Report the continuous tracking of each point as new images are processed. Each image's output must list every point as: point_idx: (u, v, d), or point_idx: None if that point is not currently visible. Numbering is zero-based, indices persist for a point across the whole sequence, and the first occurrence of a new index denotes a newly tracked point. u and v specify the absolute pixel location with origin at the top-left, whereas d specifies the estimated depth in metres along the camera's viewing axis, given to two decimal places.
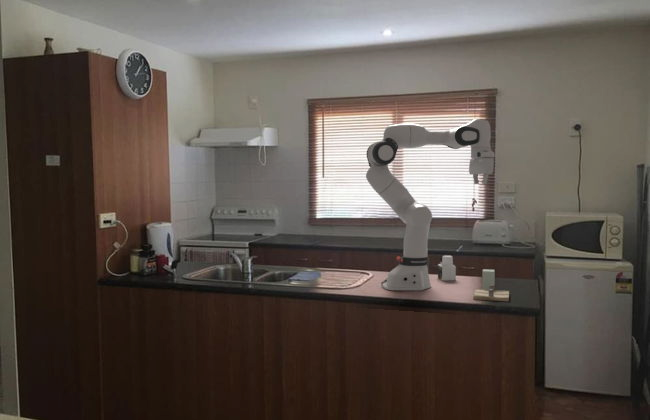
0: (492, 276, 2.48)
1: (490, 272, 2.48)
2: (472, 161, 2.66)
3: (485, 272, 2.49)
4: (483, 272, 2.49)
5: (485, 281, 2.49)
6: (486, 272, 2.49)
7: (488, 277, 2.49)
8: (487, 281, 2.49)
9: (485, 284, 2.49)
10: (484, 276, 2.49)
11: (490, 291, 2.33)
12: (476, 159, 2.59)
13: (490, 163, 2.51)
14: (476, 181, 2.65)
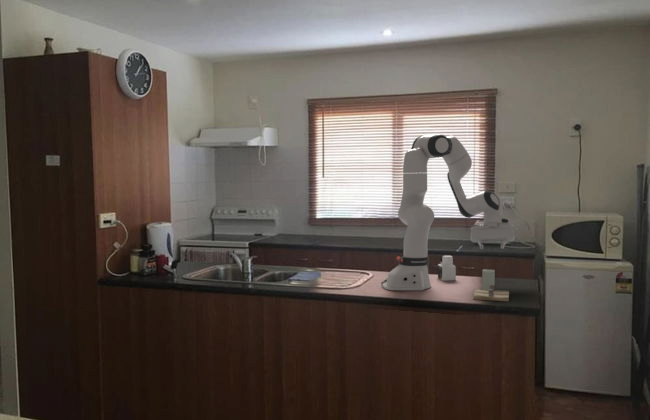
0: (492, 276, 2.48)
1: (490, 272, 2.48)
2: (480, 227, 2.69)
3: (485, 272, 2.49)
4: (483, 272, 2.49)
5: (485, 281, 2.49)
6: (486, 272, 2.49)
7: (488, 277, 2.49)
8: (487, 281, 2.49)
9: (485, 284, 2.49)
10: (484, 276, 2.49)
11: (490, 291, 2.33)
12: (495, 225, 2.66)
13: None
14: None
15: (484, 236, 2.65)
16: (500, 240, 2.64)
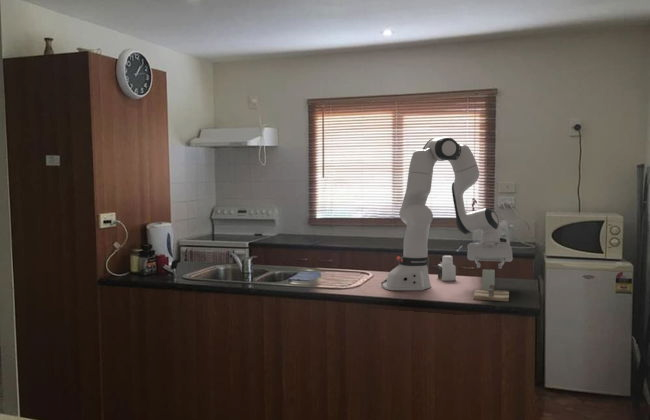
0: (492, 276, 2.48)
1: (490, 272, 2.48)
2: (477, 246, 2.63)
3: (485, 272, 2.49)
4: (483, 272, 2.49)
5: (485, 281, 2.49)
6: (486, 272, 2.49)
7: (488, 277, 2.49)
8: (487, 281, 2.49)
9: (485, 284, 2.49)
10: (484, 276, 2.49)
11: (490, 291, 2.33)
12: (493, 244, 2.61)
13: None
14: None
15: (482, 255, 2.59)
16: (497, 260, 2.59)
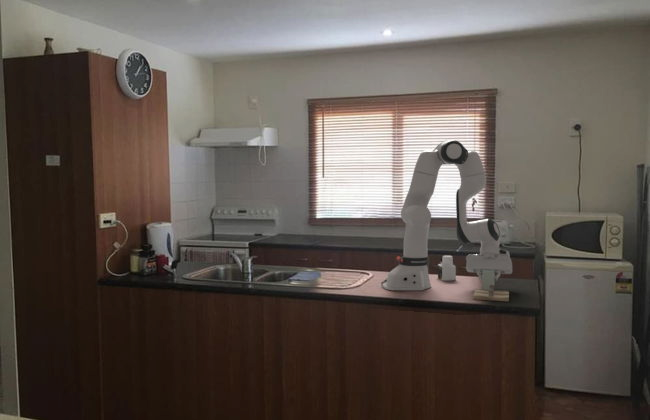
0: (492, 276, 2.48)
1: (490, 272, 2.48)
2: (477, 257, 2.58)
3: (485, 272, 2.49)
4: (483, 272, 2.49)
5: (485, 281, 2.49)
6: (486, 272, 2.49)
7: (488, 277, 2.49)
8: (487, 281, 2.49)
9: (485, 284, 2.49)
10: (484, 276, 2.49)
11: (490, 291, 2.33)
12: (492, 255, 2.55)
13: None
14: None
15: (481, 267, 2.54)
16: (497, 272, 2.53)
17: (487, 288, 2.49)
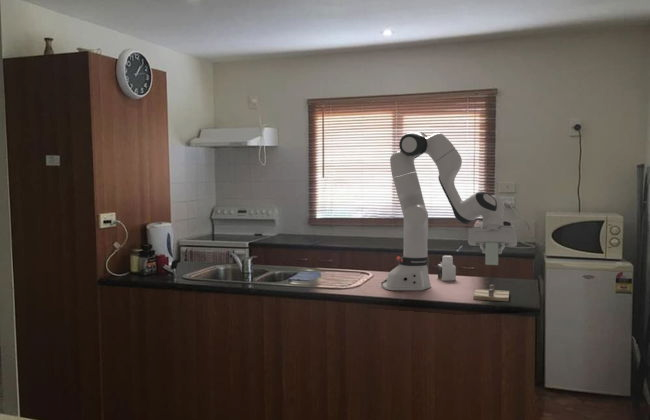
0: (496, 248, 2.34)
1: (494, 244, 2.34)
2: (479, 230, 2.44)
3: (488, 244, 2.35)
4: (486, 244, 2.35)
5: (488, 254, 2.35)
6: (489, 244, 2.35)
7: (491, 250, 2.35)
8: (491, 254, 2.35)
9: (488, 257, 2.35)
10: (487, 249, 2.35)
11: (490, 291, 2.33)
12: (496, 227, 2.41)
13: None
14: None
15: (484, 239, 2.40)
16: (501, 245, 2.39)
17: (490, 261, 2.35)
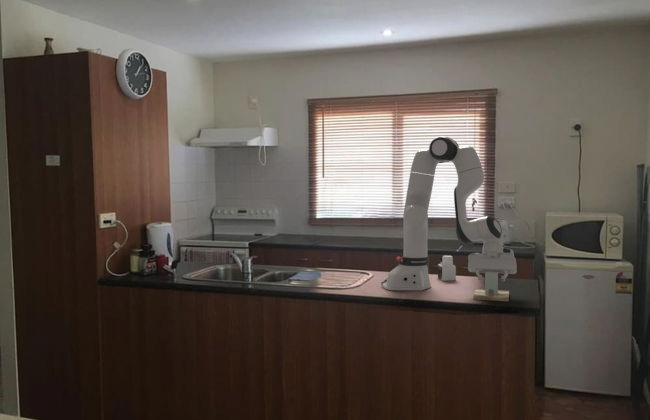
0: (495, 278, 2.35)
1: (493, 274, 2.35)
2: (479, 256, 2.44)
3: (488, 274, 2.36)
4: (486, 274, 2.36)
5: (487, 284, 2.36)
6: (489, 274, 2.36)
7: (491, 279, 2.35)
8: (490, 283, 2.36)
9: (488, 286, 2.36)
10: (487, 278, 2.36)
11: (490, 291, 2.33)
12: (496, 254, 2.42)
13: None
14: (481, 276, 2.39)
15: (483, 266, 2.40)
16: (500, 272, 2.40)
17: None
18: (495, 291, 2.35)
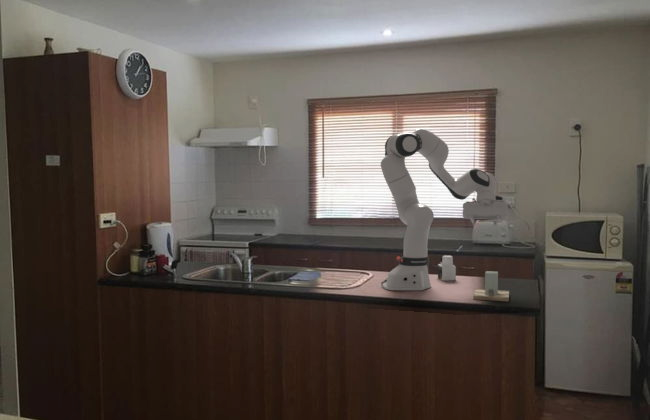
0: (495, 278, 2.35)
1: (493, 274, 2.35)
2: (473, 204, 2.61)
3: (488, 274, 2.36)
4: (486, 274, 2.36)
5: (487, 284, 2.36)
6: (489, 274, 2.36)
7: (491, 279, 2.35)
8: (490, 283, 2.36)
9: (488, 286, 2.36)
10: (487, 278, 2.36)
11: (490, 291, 2.33)
12: (489, 202, 2.59)
13: None
14: (475, 222, 2.56)
15: (477, 212, 2.57)
16: (493, 217, 2.57)
17: None
18: (495, 291, 2.35)
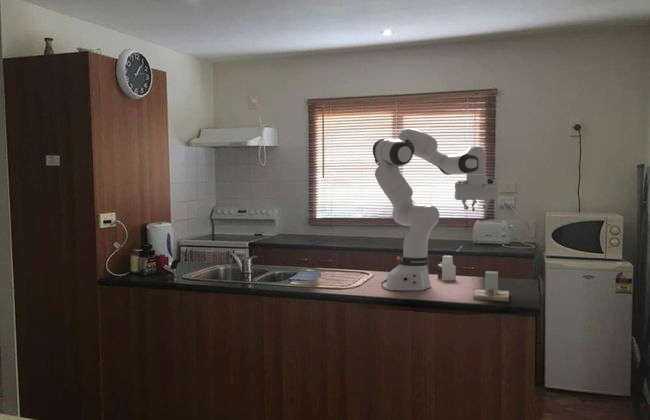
0: (495, 278, 2.35)
1: (493, 274, 2.35)
2: (466, 187, 2.67)
3: (488, 274, 2.36)
4: (486, 274, 2.36)
5: (487, 284, 2.36)
6: (489, 274, 2.36)
7: (491, 279, 2.35)
8: (490, 283, 2.36)
9: (488, 286, 2.36)
10: (487, 278, 2.36)
11: (490, 291, 2.33)
12: (481, 185, 2.67)
13: None
14: None
15: (470, 198, 2.68)
16: None
17: None
18: (495, 291, 2.35)
